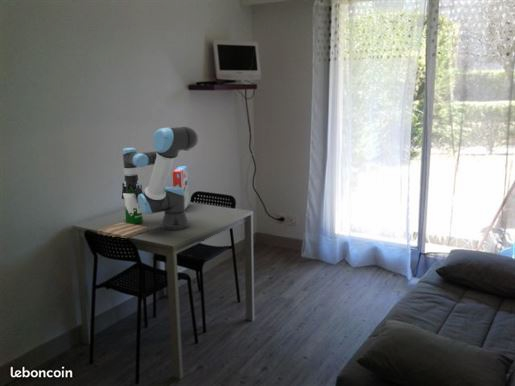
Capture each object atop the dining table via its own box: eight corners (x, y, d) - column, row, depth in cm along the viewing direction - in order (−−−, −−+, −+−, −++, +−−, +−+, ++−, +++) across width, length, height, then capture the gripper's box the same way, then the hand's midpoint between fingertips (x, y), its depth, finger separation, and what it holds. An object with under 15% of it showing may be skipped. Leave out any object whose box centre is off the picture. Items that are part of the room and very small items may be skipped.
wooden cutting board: (147, 230, 251) (147, 227, 250) (122, 239, 236) (122, 235, 235) (122, 225, 261) (122, 222, 261) (97, 233, 246) (97, 230, 246)
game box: (181, 205, 308) (179, 166, 302) (189, 205, 308) (187, 166, 302) (174, 212, 288) (172, 171, 282) (182, 212, 288) (180, 171, 282)
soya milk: (134, 219, 273) (132, 187, 269) (145, 221, 269) (143, 189, 264) (123, 223, 266) (121, 190, 262) (134, 225, 261) (132, 191, 257)
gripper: (149, 175, 258) (151, 212, 263) (123, 172, 270) (125, 208, 274) (139, 177, 252) (142, 215, 257) (113, 174, 263) (116, 211, 268)
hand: (133, 211), depth 266 cm, fingers closed on soya milk, 9 cm apart
